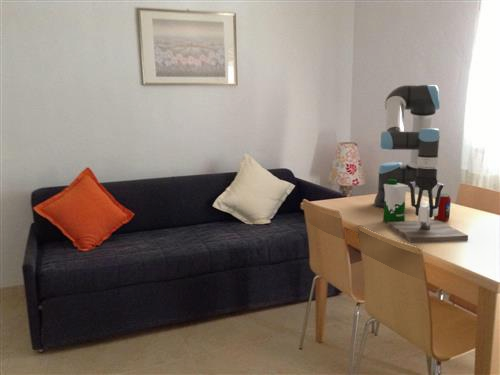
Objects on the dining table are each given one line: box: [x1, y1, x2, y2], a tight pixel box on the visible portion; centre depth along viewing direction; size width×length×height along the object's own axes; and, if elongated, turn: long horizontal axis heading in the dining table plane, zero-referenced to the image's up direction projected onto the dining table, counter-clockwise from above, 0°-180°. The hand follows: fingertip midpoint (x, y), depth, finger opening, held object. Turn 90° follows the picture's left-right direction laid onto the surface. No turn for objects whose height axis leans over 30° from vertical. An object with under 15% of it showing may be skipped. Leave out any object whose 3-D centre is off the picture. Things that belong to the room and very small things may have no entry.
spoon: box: [414, 200, 438, 222], centre depth 183 cm, size 18×9×6 cm, turn 153°
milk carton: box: [382, 179, 409, 223], centre depth 204 cm, size 9×9×20 cm
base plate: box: [386, 219, 469, 244], centre depth 189 cm, size 24×24×2 cm
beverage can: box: [433, 193, 452, 222], centre depth 208 cm, size 7×7×12 cm
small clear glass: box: [420, 217, 432, 230], centre depth 188 cm, size 4×4×6 cm
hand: (423, 224), depth 180 cm, fingers closed on spoon, 3 cm apart
